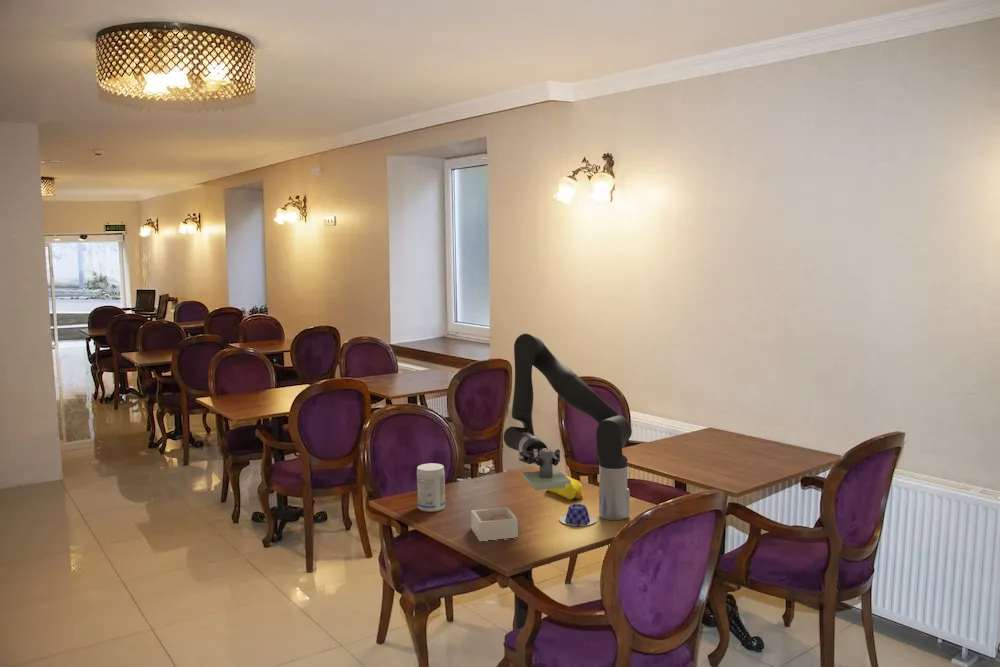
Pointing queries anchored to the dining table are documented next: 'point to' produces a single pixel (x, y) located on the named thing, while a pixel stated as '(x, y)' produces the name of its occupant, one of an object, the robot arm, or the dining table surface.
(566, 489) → the yellow rounded loaf
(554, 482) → the lid
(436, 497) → the supplement tub
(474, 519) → the storage box
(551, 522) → the dining table surface
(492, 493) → the dining table surface
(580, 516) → the pudding
